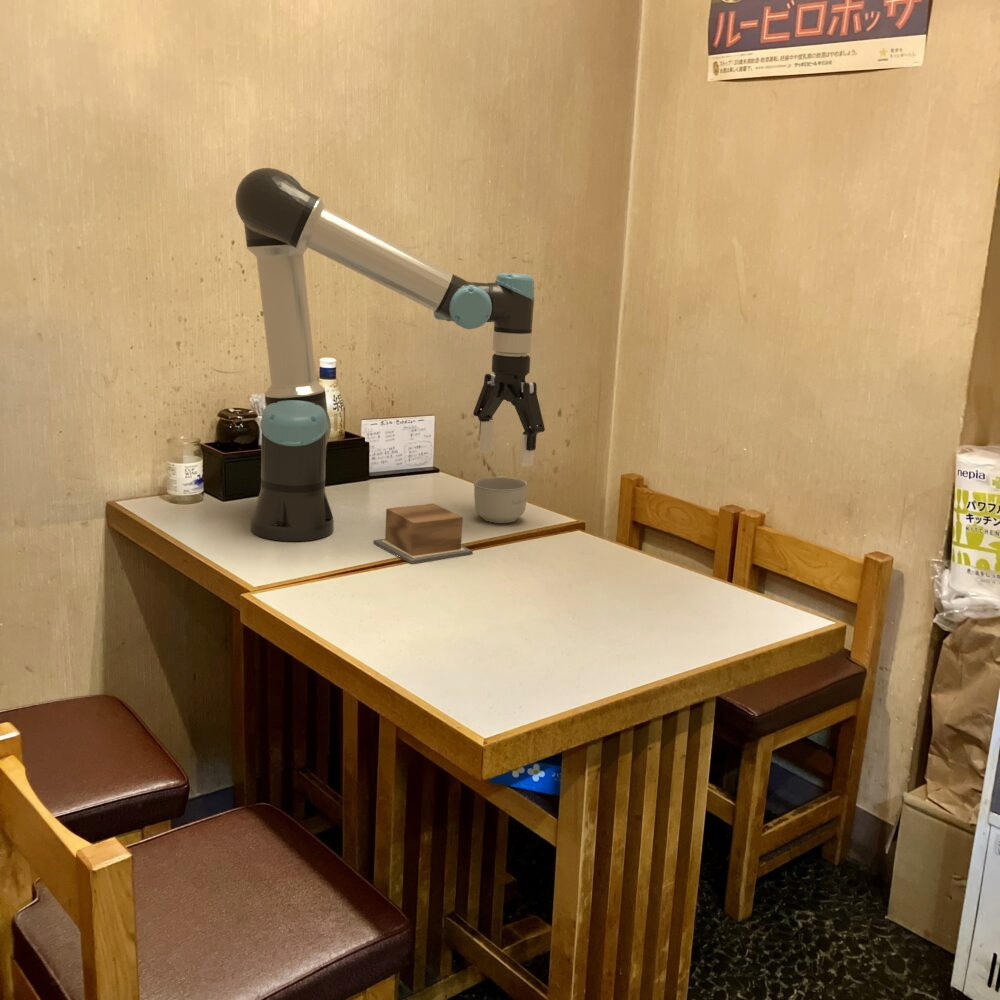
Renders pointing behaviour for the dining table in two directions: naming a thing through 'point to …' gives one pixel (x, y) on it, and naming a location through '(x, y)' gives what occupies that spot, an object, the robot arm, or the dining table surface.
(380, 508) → the dining table surface
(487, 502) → the teacup
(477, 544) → the dining table surface
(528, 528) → the dining table surface
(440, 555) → the mat
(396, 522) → the brown wooden block
